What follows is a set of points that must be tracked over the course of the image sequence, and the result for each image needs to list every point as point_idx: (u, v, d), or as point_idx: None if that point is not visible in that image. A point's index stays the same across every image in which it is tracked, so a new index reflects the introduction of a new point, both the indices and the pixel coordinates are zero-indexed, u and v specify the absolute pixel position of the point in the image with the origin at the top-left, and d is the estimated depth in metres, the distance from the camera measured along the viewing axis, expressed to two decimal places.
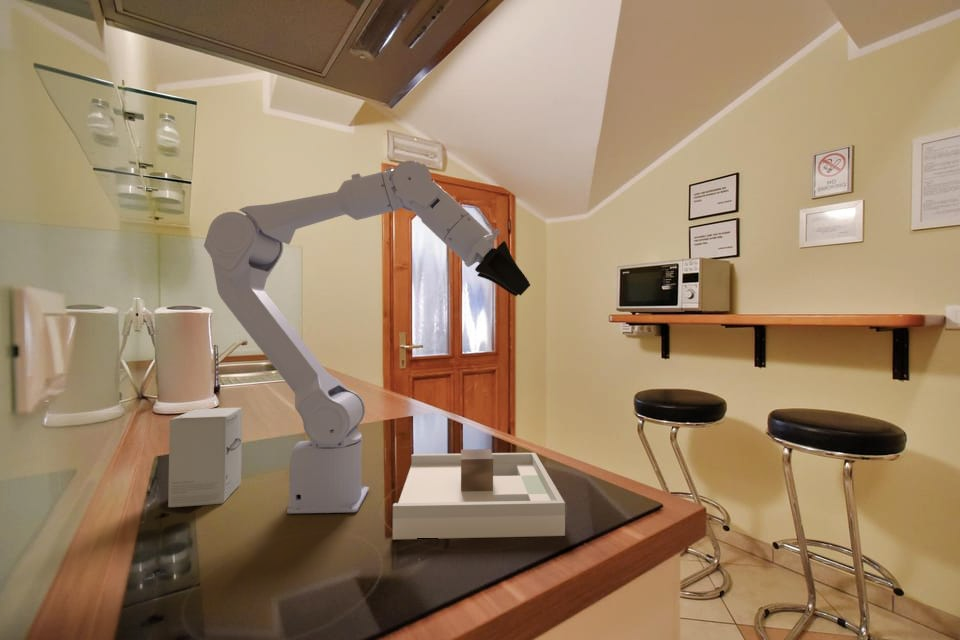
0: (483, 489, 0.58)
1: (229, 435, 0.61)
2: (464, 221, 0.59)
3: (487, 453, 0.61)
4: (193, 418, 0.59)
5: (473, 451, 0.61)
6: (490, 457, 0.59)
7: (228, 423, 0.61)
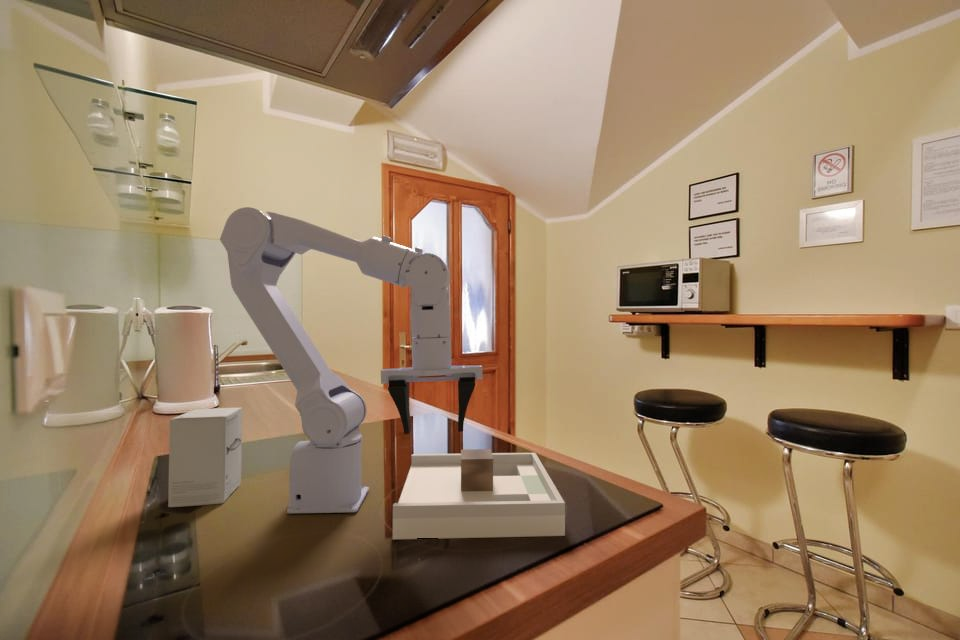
0: (483, 489, 0.58)
1: (229, 435, 0.61)
2: (412, 342, 0.59)
3: (487, 453, 0.61)
4: (193, 418, 0.59)
5: (473, 451, 0.61)
6: (490, 457, 0.59)
7: (228, 422, 0.61)
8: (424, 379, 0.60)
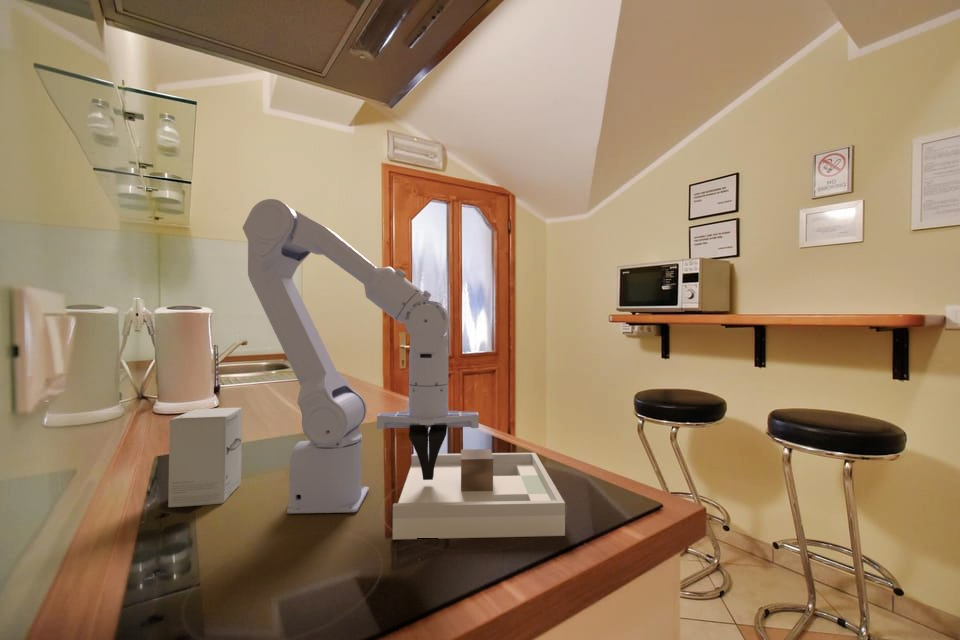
0: (483, 489, 0.58)
1: (229, 435, 0.61)
2: (409, 388, 0.59)
3: (487, 453, 0.61)
4: (193, 418, 0.59)
5: (473, 451, 0.61)
6: (490, 457, 0.59)
7: (228, 423, 0.61)
8: (420, 425, 0.60)
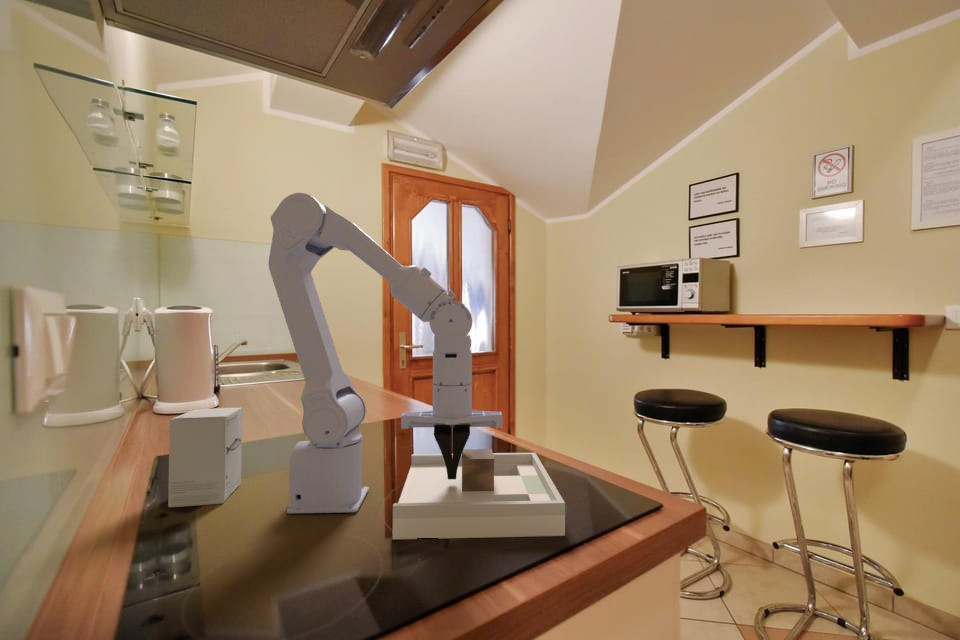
0: (484, 489, 0.58)
1: (229, 435, 0.61)
2: (434, 388, 0.59)
3: (488, 453, 0.61)
4: (193, 418, 0.59)
5: (474, 451, 0.61)
6: (491, 457, 0.59)
7: (228, 423, 0.61)
8: (444, 425, 0.60)
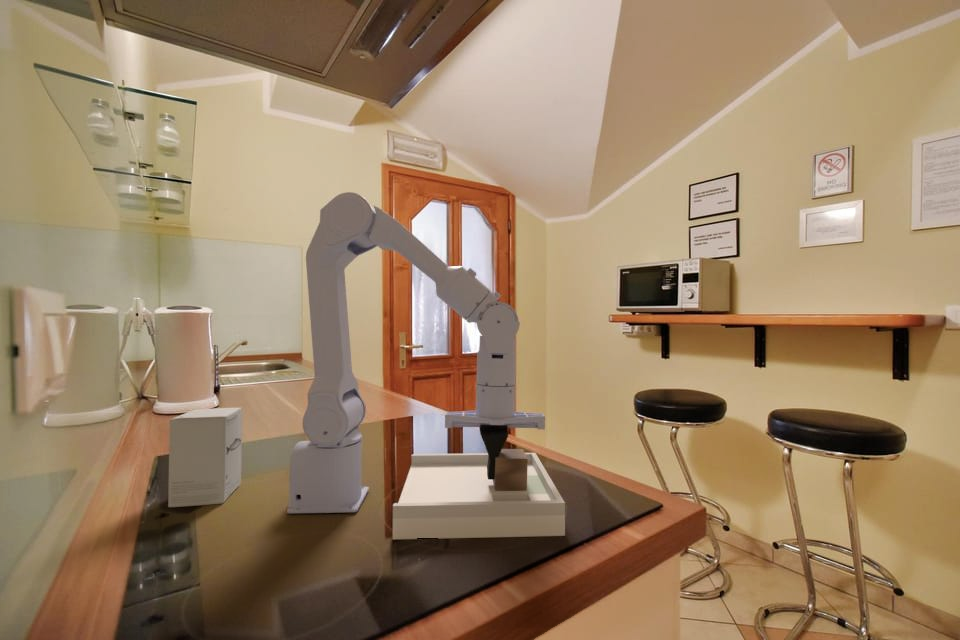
0: (517, 489, 0.58)
1: (229, 435, 0.61)
2: (478, 388, 0.59)
3: (520, 453, 0.61)
4: (193, 418, 0.59)
5: (506, 450, 0.62)
6: (525, 457, 0.59)
7: (228, 423, 0.61)
8: (487, 425, 0.60)
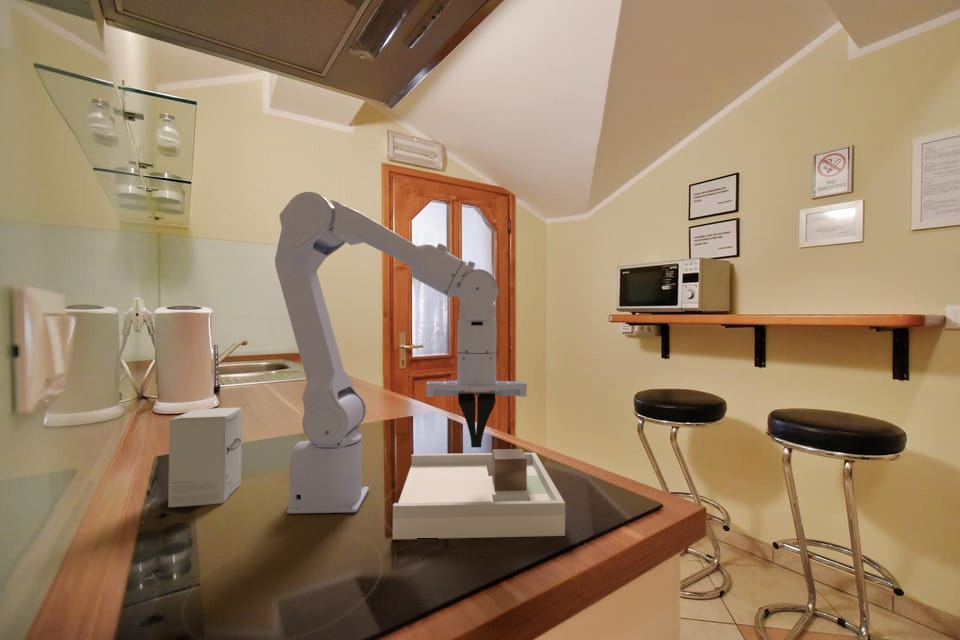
0: (517, 489, 0.58)
1: (229, 435, 0.61)
2: (459, 356, 0.59)
3: (519, 453, 0.61)
4: (193, 418, 0.59)
5: (505, 451, 0.62)
6: (524, 457, 0.59)
7: (228, 423, 0.61)
8: (468, 393, 0.60)
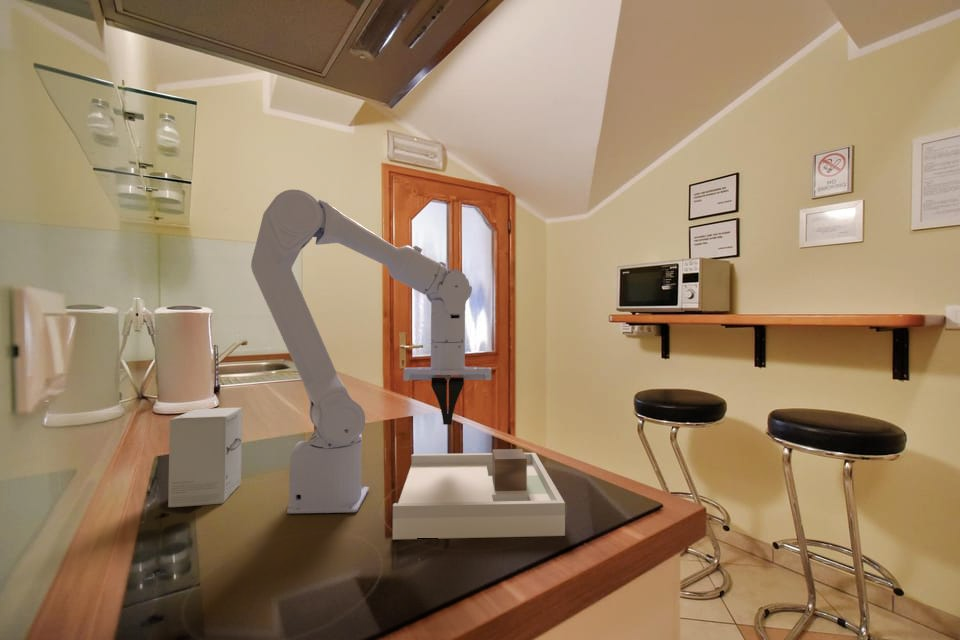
0: (517, 489, 0.58)
1: (229, 435, 0.61)
2: (432, 345, 0.68)
3: (519, 453, 0.61)
4: (193, 418, 0.59)
5: (505, 451, 0.62)
6: (524, 457, 0.59)
7: (228, 423, 0.61)
8: (440, 378, 0.69)
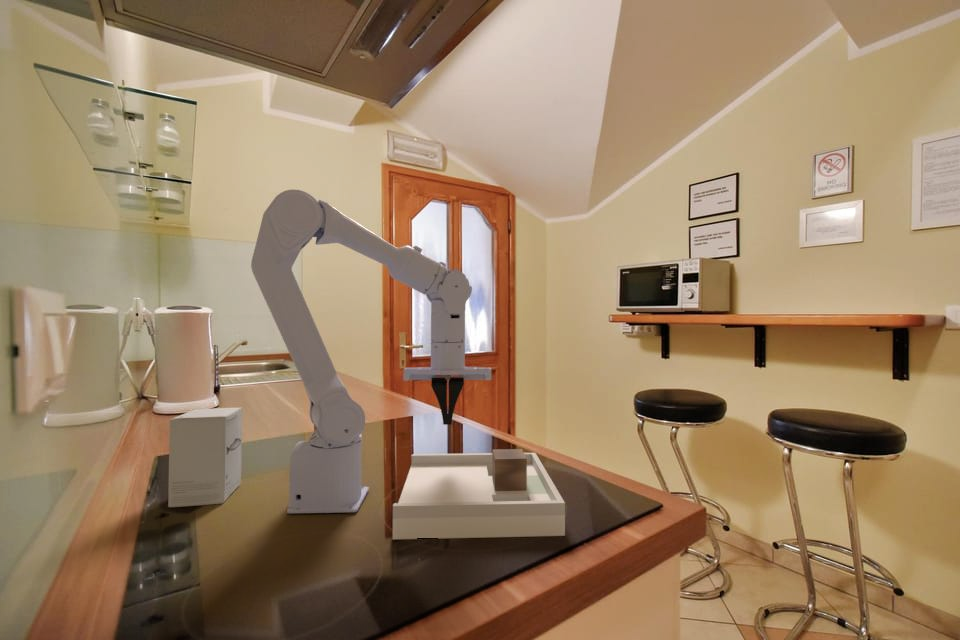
0: (517, 489, 0.58)
1: (229, 435, 0.61)
2: (432, 345, 0.68)
3: (519, 453, 0.61)
4: (193, 418, 0.59)
5: (505, 451, 0.62)
6: (524, 457, 0.59)
7: (228, 423, 0.61)
8: (440, 378, 0.69)
